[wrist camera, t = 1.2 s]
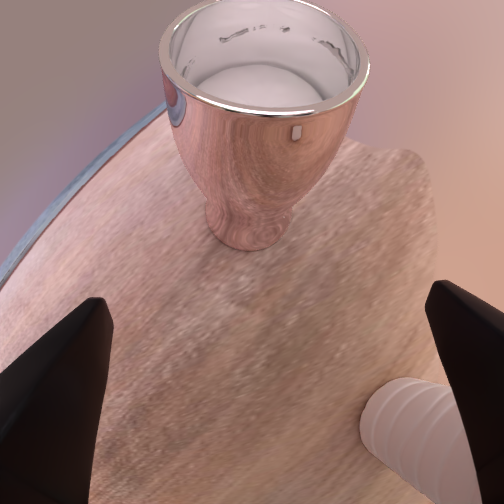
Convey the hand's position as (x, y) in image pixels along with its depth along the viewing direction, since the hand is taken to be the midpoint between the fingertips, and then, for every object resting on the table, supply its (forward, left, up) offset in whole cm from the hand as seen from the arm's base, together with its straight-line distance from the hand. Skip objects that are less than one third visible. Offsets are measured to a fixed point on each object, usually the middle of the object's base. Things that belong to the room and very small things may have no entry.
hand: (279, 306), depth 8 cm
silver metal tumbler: (+7, -2, -14) cm, 16 cm away
